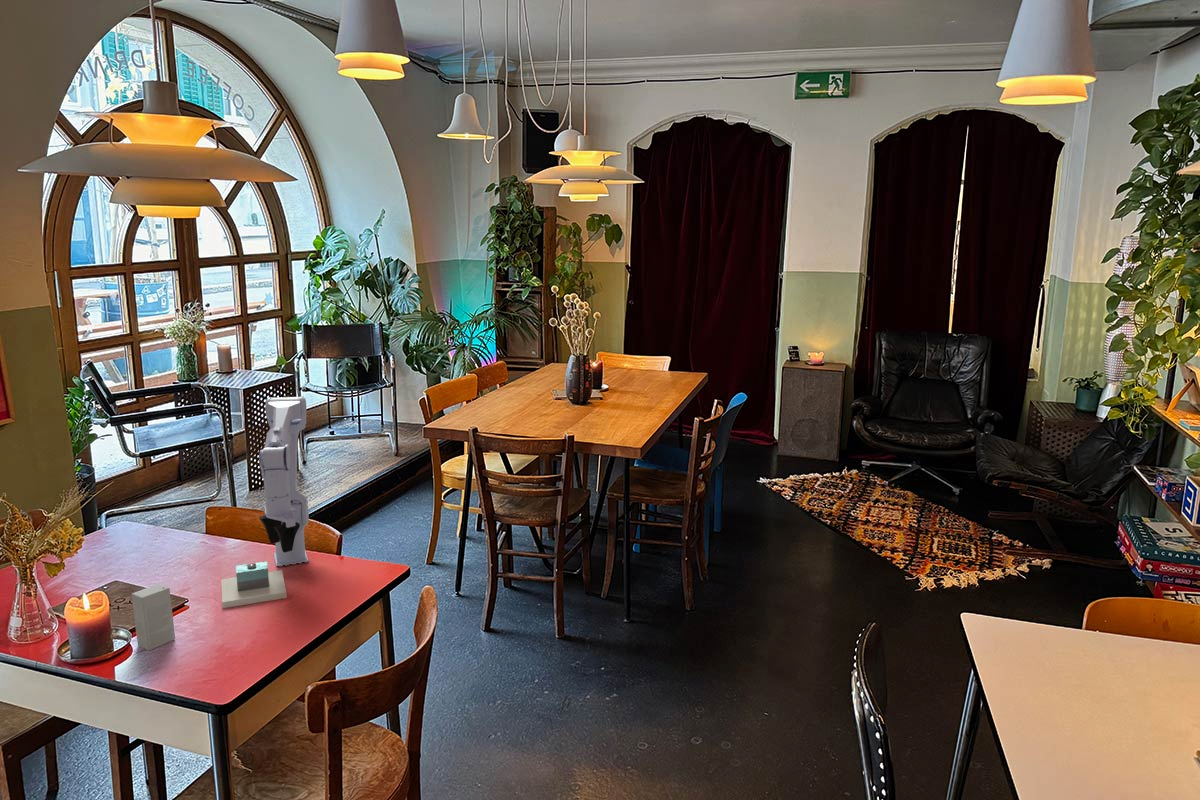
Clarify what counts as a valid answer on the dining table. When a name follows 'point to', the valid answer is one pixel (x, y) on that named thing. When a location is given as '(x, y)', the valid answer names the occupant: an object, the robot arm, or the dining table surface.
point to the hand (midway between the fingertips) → (281, 546)
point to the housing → (252, 576)
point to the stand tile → (253, 591)
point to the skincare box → (153, 616)
